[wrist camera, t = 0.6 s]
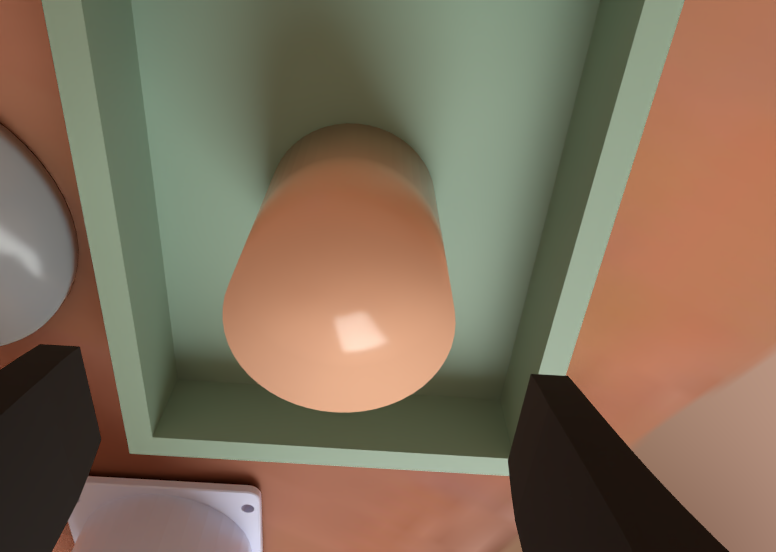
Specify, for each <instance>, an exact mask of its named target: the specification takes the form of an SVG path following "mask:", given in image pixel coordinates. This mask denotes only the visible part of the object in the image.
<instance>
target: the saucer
mask: <svg viewBox="0 0 776 552" xmlns="http://www.w3.org/2000/svg"><path fill="white" fill-rule="evenodd" d="M77 267H78V243H77V235H76V231H75V227H74V223H73V220H72V216H71V214H70V211H69V209H68V207H67V204H66V202H65V200H64V198H63V196H62V194H61V192H60V191H59V189H58V187H57V185H56V184H55V182H54V180H53V179H52V177H51V176H50V175H49V173H48V172H47V170H46V169H45V168H44V166H43V165H42V164H41V162H40V161H39V160H38V159H37V158H36V157H35V156H34V155H33V153H32V152H31V151H30V150H29V149H28V148H27V147H26V146H25V145H24V144H23V143H22V142H21V141H20V140H19V139H18V138H17V137H16V136H15V135H13V134H12V133H11V132H10V131H9V130H8V129H7V128H5V127H4V126H3V125H1V124H0V346H2V345H7V344H9V343H12V342H15V341H18V340H21V339H23V338H24V337H26V336H28V335H30V334H32V333H34V332H35V331H36V330H38V329H39V328H40V327H42V326H43V325H44V324H45V323H46V322H47V321H48V320H49V319H50V318H51V317H52V316H53V315H54V314H55V312H56V311H57V310H58V309H59V307H60V306H61V305H62V304H63V302H64V301H65V299H66V297H67V296H68V294H69V293H70V290H71V288H72V285H73V283H74V280H75V277H76V272H77Z"/></svg>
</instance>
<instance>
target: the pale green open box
mask: <svg viewBox="0 0 776 552" xmlns="http://www.w3.org/2000/svg"><path fill="white" fill-rule="evenodd" d="M41 1H42V6H43V11H44V16H45V21H46V26H47V31H48V37H49V42H50V47H51V52H52V57H53V62H54V67H55V73H56V78H57V83H58V88H59V93H60V98H61V103H62V109H63V114H64V119H65V124H66V129H67V134H68V139H69V145H70V150H71V155H72V160H73V165H74V170H75V175H76V181H77V186H78V191H79V196H80V201H81V206H82V211H83V217H84V222H85V227H86V232H87V237H88V242H89V247H90V253H91V258H92V263H93V268H94V273H95V278H96V283H97V289H98V294H99V299H100V304H101V309H102V314H103V319H104V325H105V330H106V335H107V340H108V345H109V350H110V355H111V361H112V366H113V371H114V376H115V381H116V386H117V391H118V396H119V402H120V407H121V412H122V417H123V422H124V427H125V432H126V438H127V443H128V448H129V453H130V454H144V455H161V456H178V457H195V458H212V459H229V460H246V461H263V462H280V463H297V464H315V465H332V466H349V467H366V468H383V469H400V470H417V471H434V472H451V473H468V474H485V475H502V476H509V468H508V458H509V454H510V451H511V447H512V443H513V439H514V435H515V432H516V428H517V424H518V420H519V417H520V413H521V409H522V405H523V402H524V398H525V394H526V390H527V386H528V383H529V379H530V375H531V374H543V375H560V376H566V372H567V369H568V366H569V363H570V360H571V357H572V354H573V350H574V347H575V344H576V341H577V338H578V335H579V331H580V328H581V325H582V322H583V319H584V316H585V313H586V309H587V306H588V303H589V300H590V297H591V294H592V290H593V287H594V284H595V281H596V278H597V275H598V272H599V268H600V265H601V262H602V259H603V256H604V253H605V249H606V246H607V243H608V240H609V237H610V234H611V231H612V227H613V224H614V221H615V218H616V215H617V212H618V209H619V205H620V202H621V199H622V196H623V193H624V190H625V186H626V183H627V180H628V177H629V174H630V171H631V168H632V164H633V161H634V158H635V155H636V152H637V149H638V145H639V142H640V139H641V136H642V133H643V130H644V127H645V123H646V120H647V117H648V114H649V111H650V108H651V104H652V101H653V98H654V95H655V92H656V89H657V86H658V82H659V79H660V76H661V73H662V70H663V67H664V63H665V60H666V57H667V54H668V51H669V48H670V45H671V41H672V38H673V35H674V32H675V29H676V26H677V23H678V19H679V16H680V13H681V10H682V7H683V4H684V0H41ZM346 123H350V124H364V125H370V126H373V127H377V128H380V129H383V130H385V131H388V132H390V133H392V134H394V135H395V136H397V137H399V138H400V139H402V140H403V141H404V142H406V143H407V144H408V145H409V146H411V147H412V149H413V150H414V151H415V152H416V153H417V154H418V155H419V156H420V158H421V159H422V160H423V162H424V163H425V165H426V167H427V169H428V171H429V173H430V176H431V178H432V181H433V185H434V190H435V196H436V202H437V208H438V214H439V220H440V226H441V231H442V237H443V243H444V249H445V255H446V261H447V267H448V273H449V279H450V285H451V291H452V297H453V303H454V309H455V322H456V325H455V335H454V339H453V343H452V347H451V349H450V351H449V354H448V356H447V358H446V360H445V362H444V363H443V365H442V366H441V368H440V369H439V370H438V372H437V373H436V374H435V375H434V376H433V378H432V379H431V380H429V381H428V382H427V383H426V384H425V385H424V386H423V387H421V388H420V389H419V390H417V391H416V392H414V393H413V394H411V395H409V396H408V397H406V398H404V399H402V400H400V401H398V402H395V403H393V404H390V405H388V406H384V407H381V408H377V409H373V410H367V411H361V412H349V413H347V412H327V411H319V410H315V409H310V408H306V407H303V406H299V405H296V404H293V403H291V402H289V401H286V400H284V399H282V398H280V397H278V396H276V395H274V394H273V393H271V392H269V391H268V390H266V389H265V388H264V387H262V386H261V385H259V384H258V383H257V382H256V381H255V380H254V379H253V378H251V377H250V376H249V375H248V374H247V372H246V371H245V370H244V369H243V368H242V367H241V366H240V364H239V363H238V361H237V360H236V358H235V357H234V355H233V353H232V351H231V349H230V347H229V345H228V342H227V339H226V336H225V332H224V326H223V303H224V297H225V293H226V290H227V288H228V285H229V282H230V280H231V277H232V275H233V272H234V270H235V268H236V265H237V263H238V260H239V258H240V255H241V253H242V250H243V248H244V246H245V243H246V241H247V238H248V236H249V233H250V231H251V229H252V226H253V224H254V221H255V219H256V216H257V214H258V211H259V209H260V207H261V204H262V202H263V199H264V197H265V194H266V192H267V189H268V187H269V185H270V182H271V180H272V177H273V175H274V172H275V170H276V168H277V166H278V164H279V162H280V160H281V159H282V157H283V156H284V155H285V153H286V152H287V151H288V150H289V149H290V148H291V147H292V146H293V145H294V144H295V143H296V142H297V141H299V140H300V139H301V138H303V137H304V136H306V135H308V134H310V133H311V132H313V131H316V130H318V129H321V128H324V127H327V126H332V125H337V124H346Z"/></svg>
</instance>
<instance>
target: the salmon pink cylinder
mask: <svg viewBox="0 0 776 552" xmlns="http://www.w3.org/2000/svg"><path fill="white" fill-rule="evenodd" d="M455 325H456V322H455V309H454V303H453V297H452V291H451V285H450V279H449V273H448V267H447V261H446V255H445V249H444V243H443V237H442V231H441V226H440V220H439V214H438V208H437V202H436V196H435V190H434V185H433V181H432V178H431V176H430V173H429V171H428V169H427V167H426V165H425V163H424V162H423V160H422V159H421V158H420V156H419V155H418V154H417V153H416V152H415V151H414V150H413V149H412V147H411V146H409V145H408V144H407V143H406V142H404V141H403V140H402V139H400V138H399V137H397V136H395V135H394V134H392V133H390V132H388V131H385V130H383V129H380V128H377V127H373V126H370V125H364V124H350V123H346V124H337V125H332V126H327V127H324V128H321V129H318V130H316V131H313V132H311V133H310V134H308V135H306V136H304V137H303V138H301V139H300V140H299V141H297V142H296V143H295V144H294V145H293V146H292V147H291V148H290V149H289V150H288V151H287V152H286V153H285V155H284V156H283V157H282V159H281V160H280V162H279V164H278V166H277V168H276V170H275V172H274V175H273V177H272V180H271V182H270V185H269V187H268V189H267V192H266V194H265V197H264V199H263V202H262V204H261V207H260V209H259V211H258V214H257V216H256V219H255V221H254V224H253V226H252V229H251V231H250V233H249V236H248V238H247V241H246V243H245V246H244V248H243V250H242V253H241V255H240V258H239V260H238V263H237V265H236V268H235V270H234V272H233V275H232V277H231V280H230V282H229V285H228V288H227V290H226V293H225V297H224V303H223V326H224V332H225V336H226V339H227V342H228V345H229V347H230V349H231V351H232V353H233V355H234V357H235V358H236V360H237V361H238V363H239V364H240V366H241V367H242V368H243V369H244V370H245V371H246V372H247V374H248V375H249V376H250V377H251V378H253V379H254V380H255V381H256V382H257V383H258V384H259V385H261V386H262V387H264V388H265V389H266V390H268V391H269V392H271V393H273V394H274V395H276V396H278V397H280V398H282V399H284V400H286V401H289V402H291V403H293V404H296V405H299V406H303V407H306V408H310V409H315V410H319V411H327V412H347V413H349V412H361V411H367V410H373V409H377V408H381V407H384V406H388V405H390V404H393V403H395V402H398V401H400V400H402V399H404V398H406V397H408V396H409V395H411V394H413V393H414V392H416V391H417V390H419V389H420V388H421V387H423V386H424V385H425V384H426V383H427V382H428V381H429V380H431V379H432V378H433V376H434V375H435V374H436V373H437V372H438V370H439V369H440V368H441V366H442V365H443V363H444V362H445V360H446V358H447V356H448V354H449V351H450V349H451V347H452V343H453V339H454V335H455Z"/></svg>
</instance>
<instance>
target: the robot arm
mask: <svg viewBox="0 0 776 552" xmlns="http://www.w3.org/2000/svg"><path fill="white" fill-rule="evenodd" d="M100 442H101V436H100V432H99V427H98V423H97V419H96V415H95V410H94V406H93V402H92V398H91V393H90V389H89V385H88V381H87V376H86V372H85V368H84V363H83V359H82V355H81V351H80V347H76V346H59V345H43V344H40V345H38V346H37V347H35V348H33V349H32V350H30V351H29V352H27V353H25V354H24V355H22V356H21V357H19V358H18V359H16V360H15V361H13V362H12V363H10V364H9V365H7V366H6V367H4V368H3V369H1V370H0V552H52V550H53V548H54V546H55V545H56V543H57V541H58V539H59V537H60V535H61V533H62V531H63V529H64V527H65V525H66V523H67V522H68V523H69V526H70V530H71V533H72V537H73V540H74V543H75V545H74V547H73V549H72V551H71V552H263V533H262V503H261V492H260V490H259V489H258V488H256V487H254V486H251V485H238V484H220V483H203V482H185V481H167V480H150V479H132V478H114V477H97V476H88V475H89V472H90V470H91V467H92V464H93V461H94V458H95V456H96V453H97V450H98V447H99V444H100ZM508 468H509V476H510V485H511V494H512V501H513V508H514V515H515V522H516V526H517V530H518V534H519V539H520V543H521V547H522V551H523V552H729V551H728V550H727V549H726V548H725V547H724V546H723V545H722V544H721V543H720V542H718V541H717V540H716V539H715V538H714V537H713V536H712V535H711V534H710V533H709V532H708V531H707V530H706V529H705V528H704V527H703V526H702V525H701V524H700V523H699V522H698V521H697V520H696V519H695V518H694V517H693V516H692V515H691V514H690V513H689V512H688V511H687V510H686V509H685V508H684V507H683V506H682V505H681V503H680V502H679V501H678V500H677V499H676V498H675V497H674V496H673V495H672V494H671V493H670V492H669V491H668V490H667V489H666V488H665V487H664V486H663V485H662V483H660V481H659V480H658V479H657V478H656V477H655V476H654V475H653V474H652V473H651V472H650V470H649V469H648V468H647V467H646V466H645V465H644V464H643V463H642V462H641V460H640V459H639V458H638V457H637V456H636V455H635V454H634V453H633V451H632V450H631V449H630V448H629V447H628V446H627V445H626V443H625V442H624V441H623V440H622V439H621V438H620V437H619V435H618V434H617V433H616V432H615V431H614V430H613V428H612V427H611V426H610V425H609V424H608V423H607V421H606V420H605V419H604V418H603V417H602V416H601V414H600V413H599V412H598V411H597V410H596V408H595V407H594V406H593V405H592V404H591V402H590V401H589V400H588V399H587V398H586V397H585V395H584V394H583V393H582V392H581V391H580V389H579V388H578V387H577V386H576V385H575V384H574V382H573V381H572V380H571V379H570V378H569V377H568V376H560V375H543V374H531V375H530V379H529V383H528V386H527V390H526V394H525V398H524V402H523V405H522V409H521V413H520V417H519V420H518V424H517V428H516V432H515V435H514V439H513V443H512V447H511V451H510V454H509V458H508Z"/></svg>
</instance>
